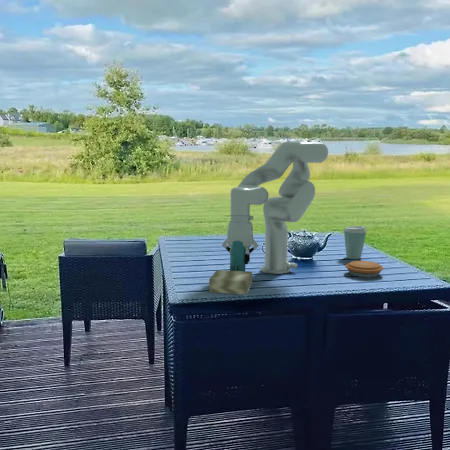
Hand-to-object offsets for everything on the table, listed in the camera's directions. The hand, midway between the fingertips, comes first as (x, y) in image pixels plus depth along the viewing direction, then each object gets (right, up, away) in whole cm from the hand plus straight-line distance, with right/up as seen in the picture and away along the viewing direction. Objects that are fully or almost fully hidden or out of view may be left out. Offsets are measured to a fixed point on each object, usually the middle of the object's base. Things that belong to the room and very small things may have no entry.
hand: (240, 262), depth 224 cm
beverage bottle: (-1, -7, +1) cm, 7 cm away
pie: (+52, -6, +10) cm, 54 cm away
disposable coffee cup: (+55, -1, +41) cm, 69 cm away
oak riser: (-4, -9, -11) cm, 15 cm away
